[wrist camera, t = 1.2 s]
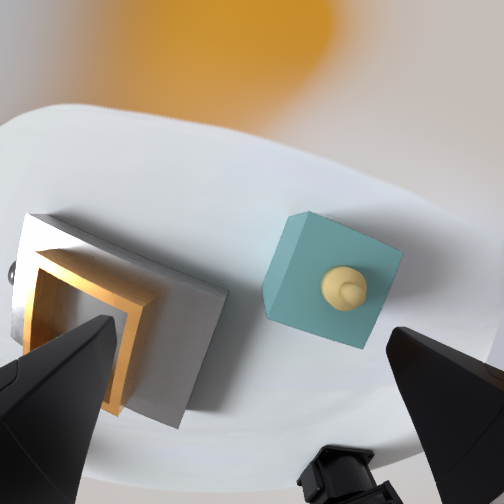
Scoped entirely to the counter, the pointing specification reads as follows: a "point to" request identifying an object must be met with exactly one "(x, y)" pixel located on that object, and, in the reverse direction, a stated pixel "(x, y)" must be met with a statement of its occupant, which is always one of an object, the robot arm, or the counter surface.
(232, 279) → the counter surface
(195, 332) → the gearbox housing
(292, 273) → the oil can
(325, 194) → the counter surface
